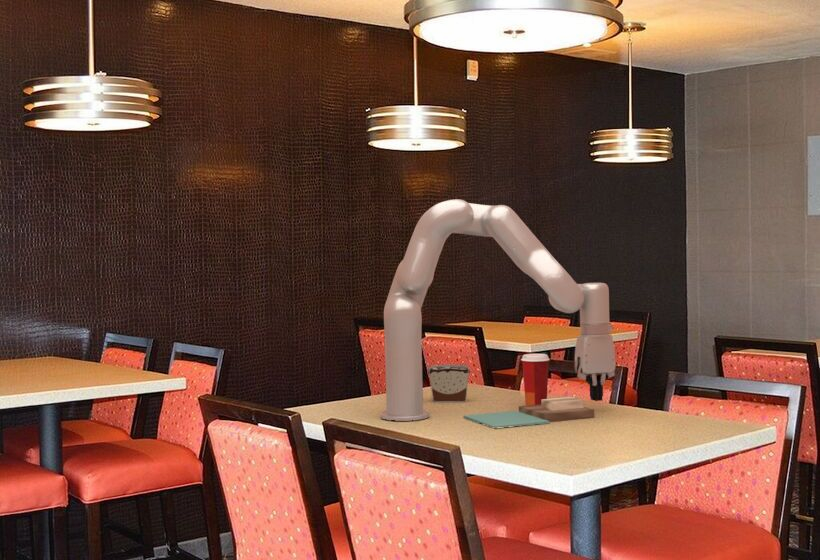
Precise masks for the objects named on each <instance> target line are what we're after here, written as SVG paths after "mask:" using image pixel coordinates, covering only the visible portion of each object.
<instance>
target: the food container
mask: <svg viewBox="0 0 820 560" xmlns="http://www.w3.org/2000/svg"><path fill="white" fill-rule="evenodd" d="M426 373H427V375H429V380H430V386H431V388H430V389H431V396H432V402H433V403H467V395H468V382H469V374H470V375H471V369H470V367H469V365H466V364H438V365H437V364H435V365H431V366H429V367H428V369H427V372H426Z"/></svg>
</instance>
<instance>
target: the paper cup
mask: <svg viewBox="0 0 820 560" xmlns="http://www.w3.org/2000/svg"><path fill="white" fill-rule="evenodd" d="M520 361H522V373H523V374H522V375H523V376H522V377H523V385H524V387H523V388H524V399H525V406H529V405H540V404H542V402H541V399H548V386H549V385H548V382H549V361H550V358H549V356H548V354H546V353H526V354H523V355H522V356H521V359H520Z"/></svg>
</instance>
